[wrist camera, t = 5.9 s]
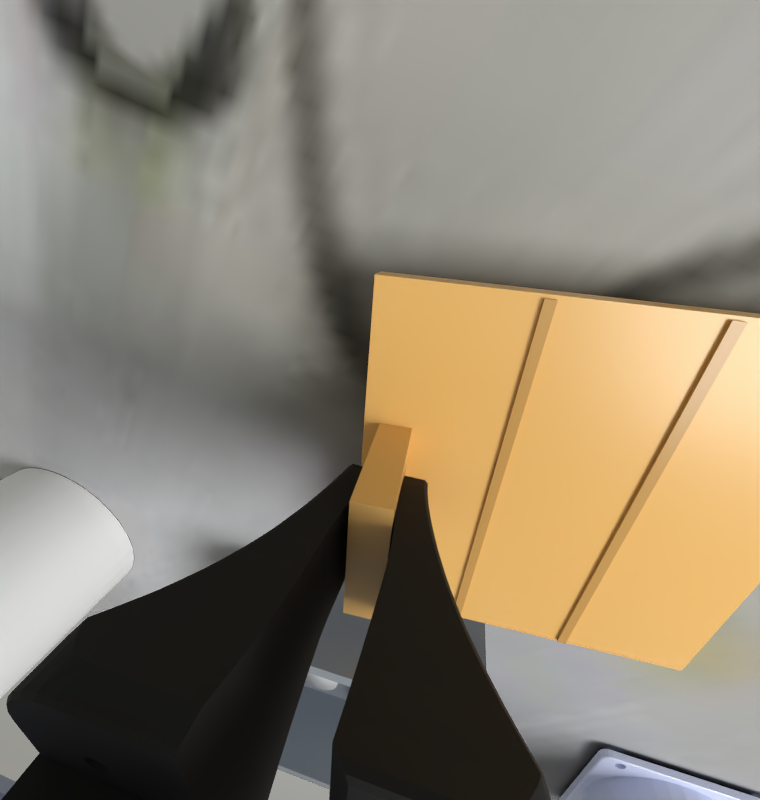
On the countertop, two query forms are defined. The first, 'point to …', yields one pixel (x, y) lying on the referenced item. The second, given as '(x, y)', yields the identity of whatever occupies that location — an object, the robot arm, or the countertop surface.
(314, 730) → the tub
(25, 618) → the cylinder container
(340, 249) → the countertop surface
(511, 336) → the lid
